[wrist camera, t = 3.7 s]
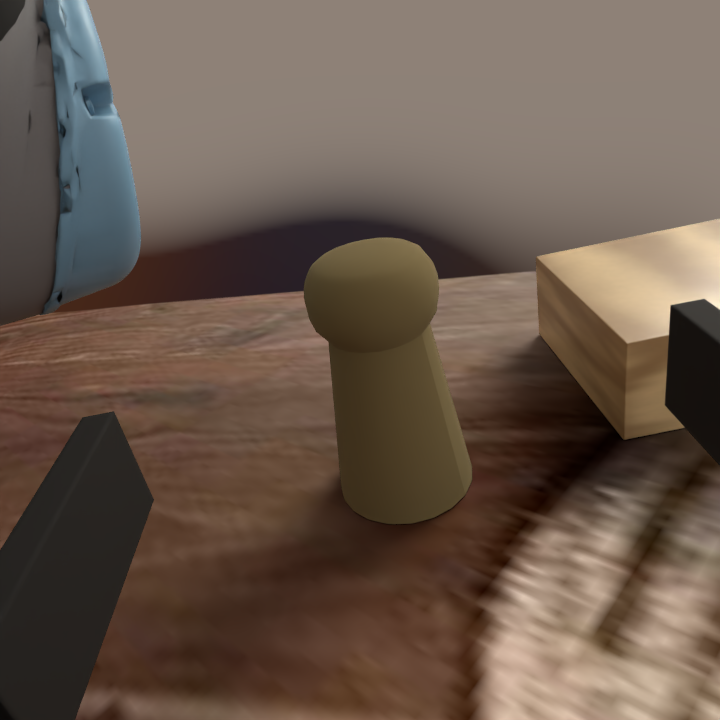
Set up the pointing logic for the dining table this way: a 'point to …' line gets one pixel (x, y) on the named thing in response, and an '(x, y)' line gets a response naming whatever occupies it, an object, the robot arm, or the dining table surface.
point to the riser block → (626, 316)
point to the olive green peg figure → (388, 381)
